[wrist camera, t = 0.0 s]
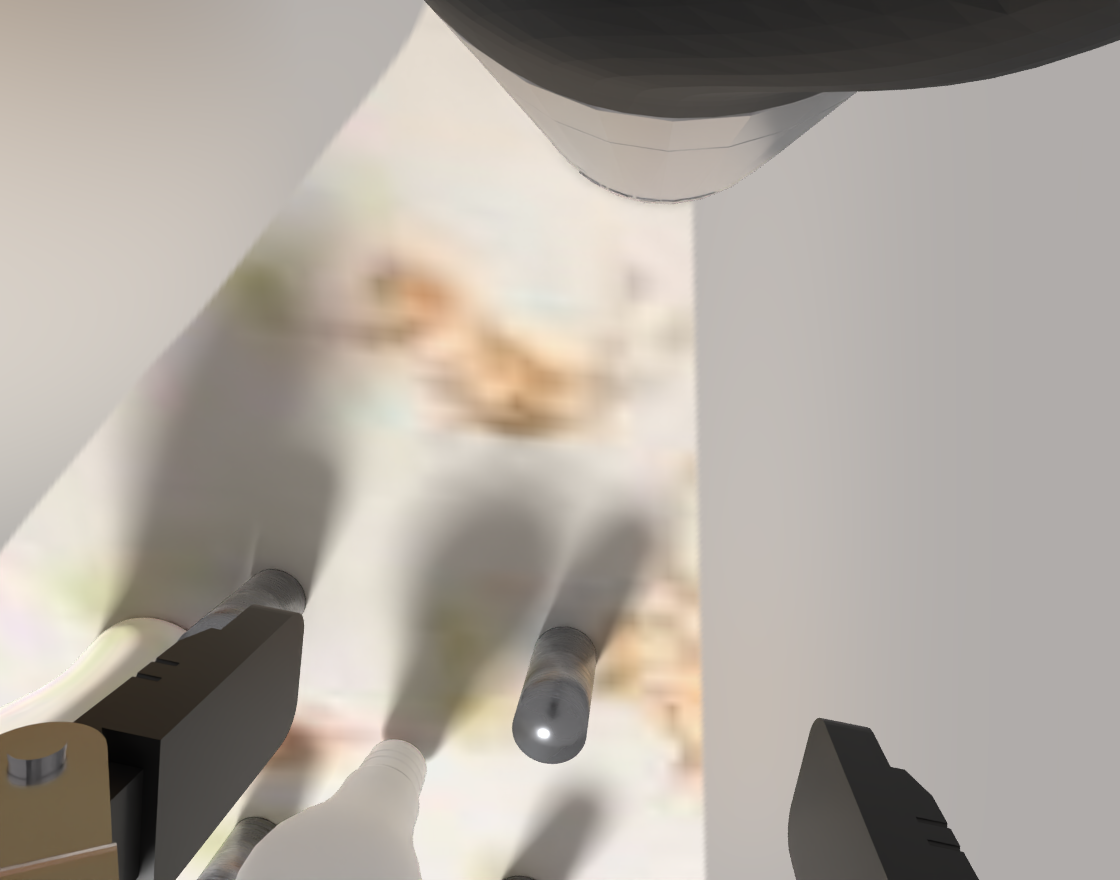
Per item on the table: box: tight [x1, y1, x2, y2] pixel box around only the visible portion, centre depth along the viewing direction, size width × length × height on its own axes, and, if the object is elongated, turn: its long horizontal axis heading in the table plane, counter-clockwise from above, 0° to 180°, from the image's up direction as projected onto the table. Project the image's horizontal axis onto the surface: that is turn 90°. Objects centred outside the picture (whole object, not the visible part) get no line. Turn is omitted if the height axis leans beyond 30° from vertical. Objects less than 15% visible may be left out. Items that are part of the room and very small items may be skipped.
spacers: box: [177, 569, 597, 880], centre depth 30 cm, size 14×14×5 cm
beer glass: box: [0, 617, 186, 734], centre depth 26 cm, size 7×7×15 cm
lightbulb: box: [235, 739, 427, 880], centre depth 27 cm, size 6×6×11 cm
